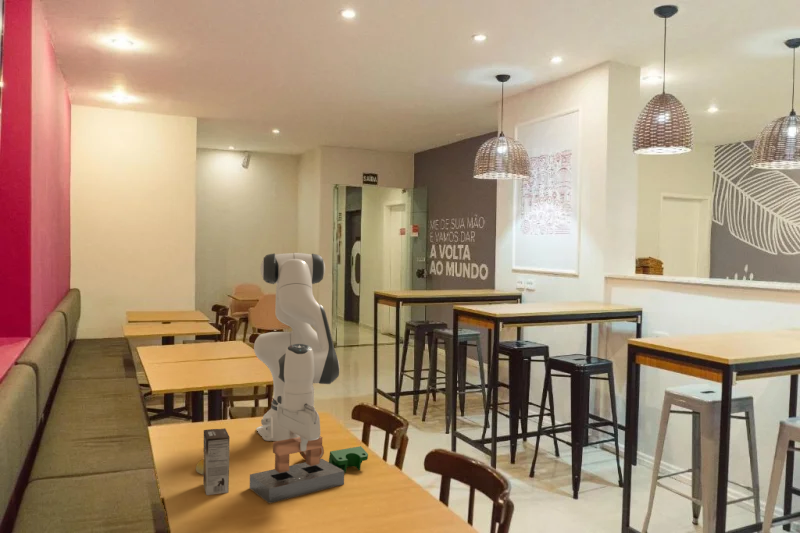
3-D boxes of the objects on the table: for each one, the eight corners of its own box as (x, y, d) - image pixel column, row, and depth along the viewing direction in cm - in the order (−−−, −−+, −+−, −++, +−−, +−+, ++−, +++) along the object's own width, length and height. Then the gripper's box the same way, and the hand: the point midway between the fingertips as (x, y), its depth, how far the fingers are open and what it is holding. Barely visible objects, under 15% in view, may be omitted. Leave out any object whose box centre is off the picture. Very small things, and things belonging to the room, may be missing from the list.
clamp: (340, 486, 189) (333, 464, 185) (332, 475, 194) (325, 454, 190) (372, 466, 193) (366, 445, 190) (364, 457, 198) (358, 435, 195)
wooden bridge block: (272, 469, 174) (272, 442, 174) (315, 460, 182) (315, 434, 182) (278, 473, 170) (279, 445, 170) (321, 464, 179) (322, 437, 179)
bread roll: (198, 467, 191) (198, 454, 191) (227, 466, 193) (227, 453, 193) (193, 476, 183) (193, 463, 183) (224, 475, 185) (224, 462, 185)
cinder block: (249, 488, 174) (249, 474, 174) (321, 471, 189) (322, 458, 189) (269, 503, 164) (269, 488, 164) (344, 484, 179) (344, 470, 179)
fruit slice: (306, 466, 193) (307, 451, 193) (294, 461, 198) (294, 446, 198) (327, 460, 199) (327, 445, 199) (315, 455, 204) (315, 440, 204)
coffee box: (202, 484, 177) (203, 429, 176) (225, 481, 179) (225, 427, 179) (205, 495, 168) (206, 438, 168) (229, 492, 171) (230, 436, 171)
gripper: (326, 406, 170) (325, 455, 170) (292, 392, 186) (291, 437, 186) (306, 409, 166) (305, 459, 166) (273, 395, 182) (272, 440, 182)
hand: (298, 447), depth 176 cm, fingers closed on wooden bridge block, 4 cm apart
